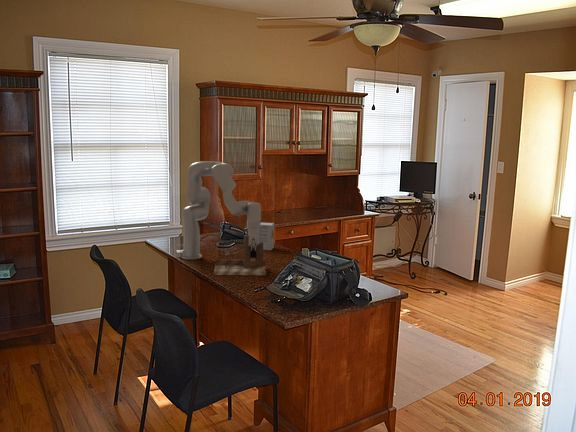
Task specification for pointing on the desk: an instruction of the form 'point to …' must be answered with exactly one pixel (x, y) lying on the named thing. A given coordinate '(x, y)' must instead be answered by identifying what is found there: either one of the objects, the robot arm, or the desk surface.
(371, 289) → the desk surface
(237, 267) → the marking board
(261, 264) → the wooden block
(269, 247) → the supplement box
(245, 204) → the robot arm
